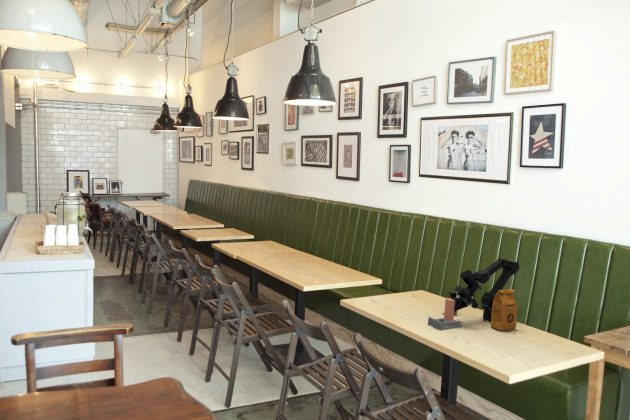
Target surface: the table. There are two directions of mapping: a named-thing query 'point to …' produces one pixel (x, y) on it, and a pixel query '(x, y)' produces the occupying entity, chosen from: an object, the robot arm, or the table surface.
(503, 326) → the coffee package
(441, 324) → the track housing
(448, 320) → the tall terracotta column
